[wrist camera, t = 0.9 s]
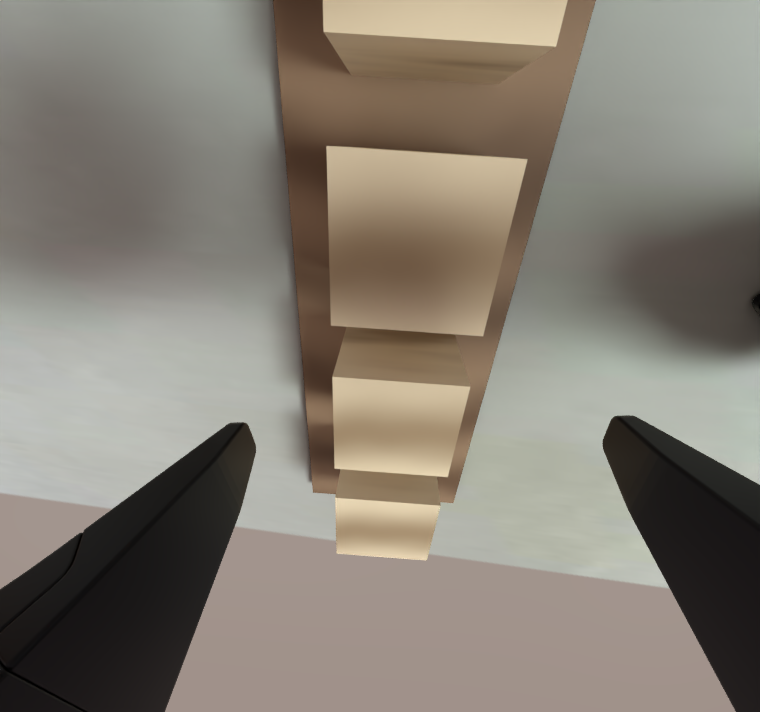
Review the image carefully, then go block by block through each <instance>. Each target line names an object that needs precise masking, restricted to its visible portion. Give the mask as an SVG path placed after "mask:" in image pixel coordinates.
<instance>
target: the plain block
mask: <svg viewBox="0 0 760 712" xmlns="http://www.w3.org/2000/svg"><path fill="white" fill-rule="evenodd" d="M332 384H333V424H334V464H335V469H346V470H359V471H372V472H386V473H399V474H412V475H426V476H439V477H448V474H449V470H450V466H451V462H452V458H453V454H454V450H455V446H456V442H457V438H458V434H459V430H460V426H461V422H462V418H463V414H464V411H465V407H466V403H467V399H468V395H469V391H470V384H469V380H468V377H467V374H466V370H465V367H464V364H463V361H462V357H461V354H460V351H459V347H458V344H457V341H456V337H455V334H443V333H429V332H415V331H401V330H387V329H372V328H358V327H346V331H345V334H344V338H343V341H342V345H341V348H340V352H339V355H338V359H337V362H336V366H335V369H334V373H333V376H332Z"/></svg>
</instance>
